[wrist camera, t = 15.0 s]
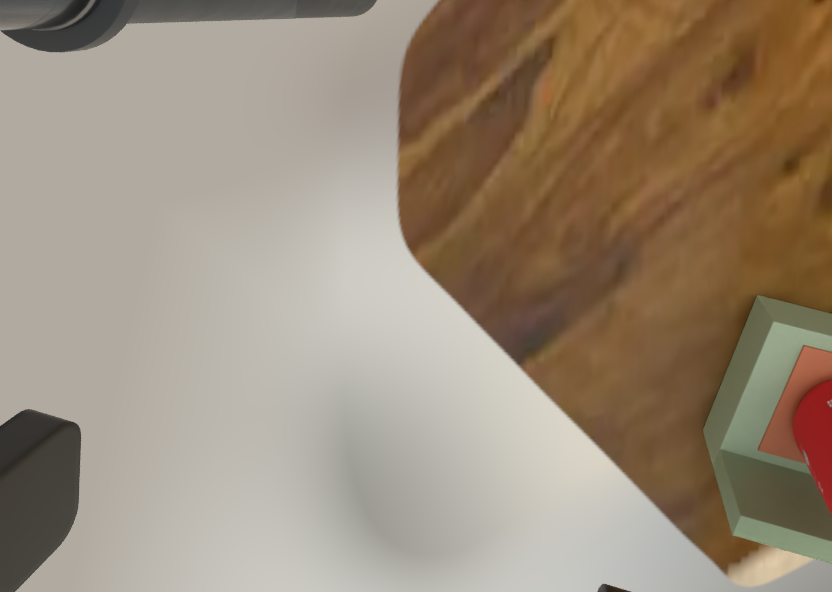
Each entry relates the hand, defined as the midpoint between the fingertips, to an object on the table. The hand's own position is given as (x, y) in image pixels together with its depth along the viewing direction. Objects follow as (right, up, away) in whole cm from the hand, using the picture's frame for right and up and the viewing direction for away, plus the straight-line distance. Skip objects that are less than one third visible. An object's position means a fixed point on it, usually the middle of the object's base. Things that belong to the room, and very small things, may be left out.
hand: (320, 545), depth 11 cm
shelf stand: (+24, -2, +32) cm, 41 cm away
